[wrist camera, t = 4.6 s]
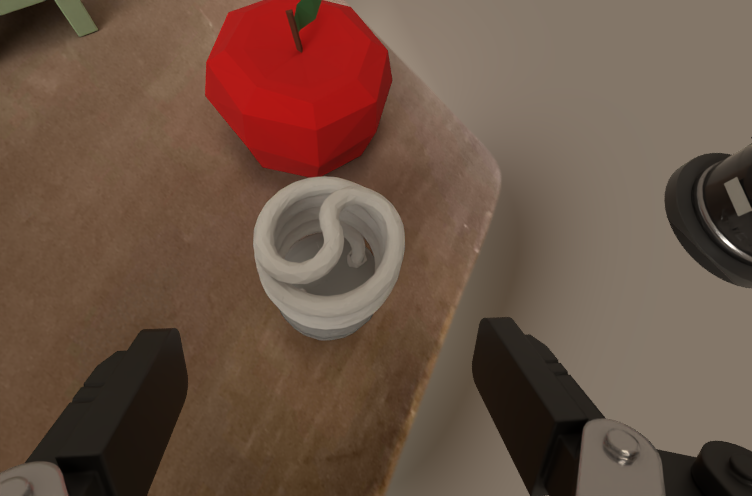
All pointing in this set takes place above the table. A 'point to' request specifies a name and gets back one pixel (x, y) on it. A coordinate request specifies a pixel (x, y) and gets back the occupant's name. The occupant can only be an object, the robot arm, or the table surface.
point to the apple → (299, 83)
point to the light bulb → (328, 254)
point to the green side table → (69, 3)
